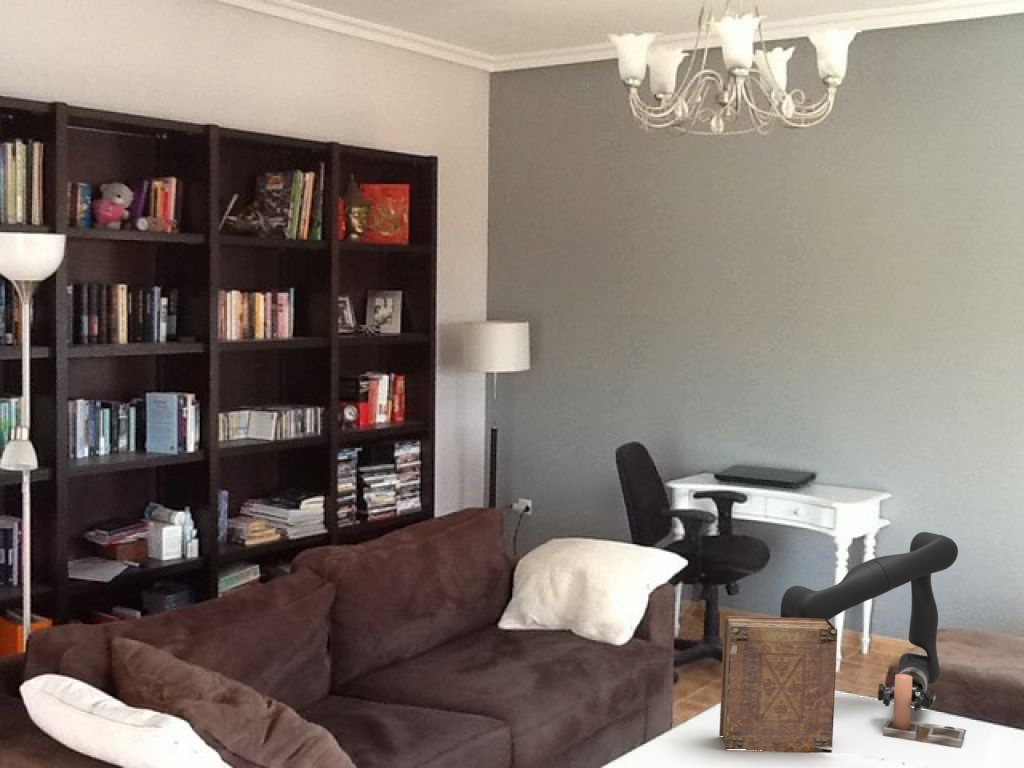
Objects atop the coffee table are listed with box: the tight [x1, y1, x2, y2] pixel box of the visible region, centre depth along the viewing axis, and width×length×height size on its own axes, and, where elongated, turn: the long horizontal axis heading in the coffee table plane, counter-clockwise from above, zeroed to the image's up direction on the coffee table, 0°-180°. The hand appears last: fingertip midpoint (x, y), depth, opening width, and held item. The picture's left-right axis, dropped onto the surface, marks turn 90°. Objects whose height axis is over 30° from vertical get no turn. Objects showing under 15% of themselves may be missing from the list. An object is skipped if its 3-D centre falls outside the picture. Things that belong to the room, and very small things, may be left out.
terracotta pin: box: [892, 673, 912, 731], centre depth 310 cm, size 4×4×14 cm
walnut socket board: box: [882, 717, 967, 749], centre depth 311 cm, size 18×14×3 cm
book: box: [718, 615, 838, 754], centre depth 304 cm, size 25×9×30 cm, turn 89°
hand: (901, 704), depth 308 cm, fingers open, 6 cm apart
